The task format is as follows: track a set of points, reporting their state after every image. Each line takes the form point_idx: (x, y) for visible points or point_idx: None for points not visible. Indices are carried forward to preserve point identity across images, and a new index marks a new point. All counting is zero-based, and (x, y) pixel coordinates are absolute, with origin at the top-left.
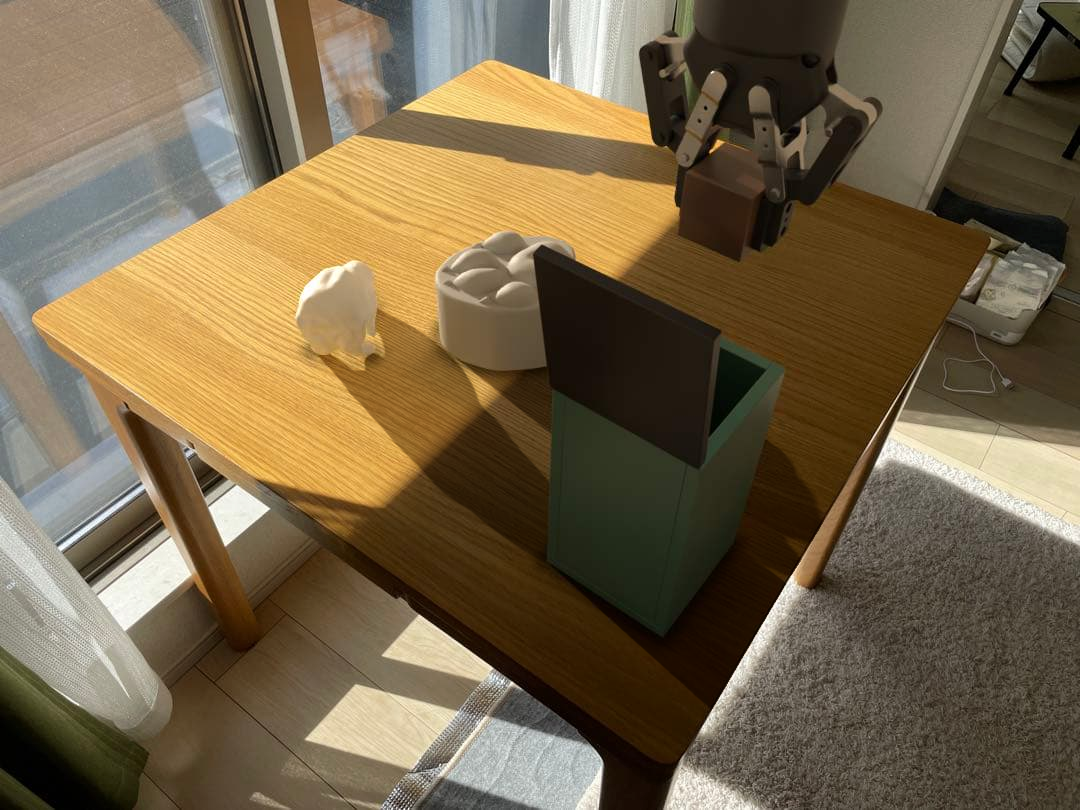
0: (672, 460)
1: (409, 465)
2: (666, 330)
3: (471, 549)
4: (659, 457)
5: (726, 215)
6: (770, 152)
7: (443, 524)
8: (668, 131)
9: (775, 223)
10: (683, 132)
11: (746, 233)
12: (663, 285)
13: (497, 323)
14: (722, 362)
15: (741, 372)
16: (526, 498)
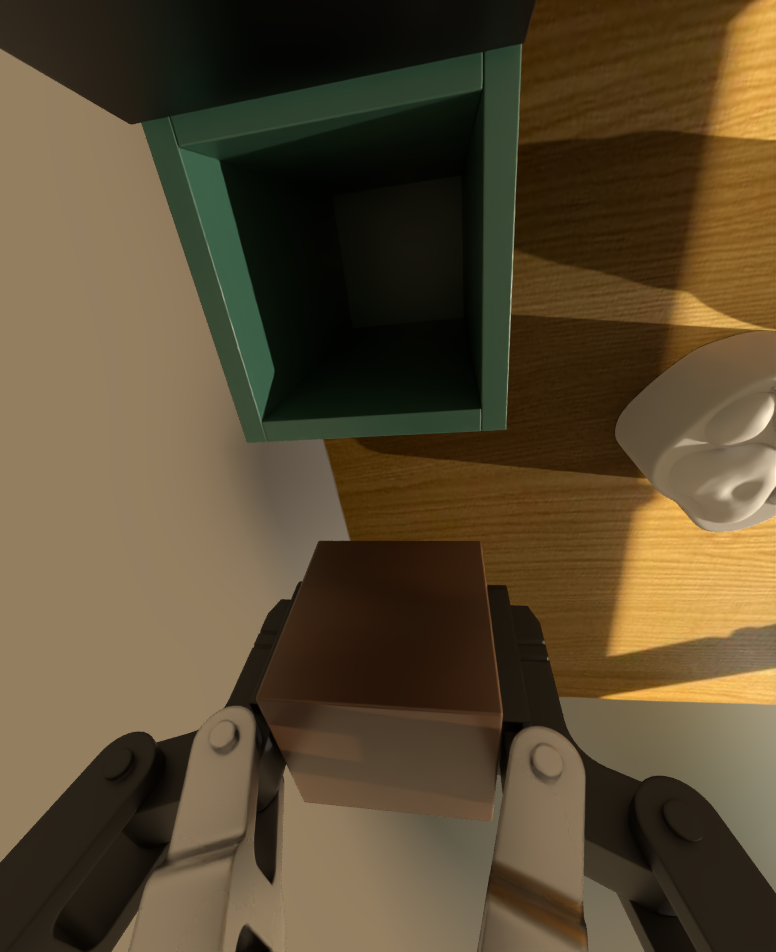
0: None
1: (730, 125)
2: None
3: (566, 85)
4: None
5: (348, 625)
6: (161, 936)
7: (625, 83)
8: (662, 867)
9: (261, 652)
10: (605, 860)
11: (295, 601)
12: (581, 550)
13: (740, 375)
14: (338, 406)
15: (306, 408)
16: (550, 216)
